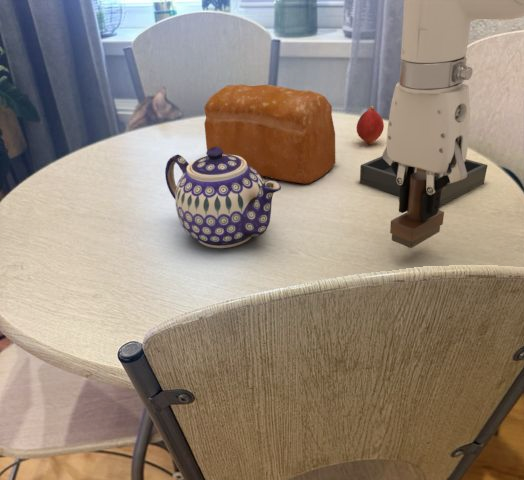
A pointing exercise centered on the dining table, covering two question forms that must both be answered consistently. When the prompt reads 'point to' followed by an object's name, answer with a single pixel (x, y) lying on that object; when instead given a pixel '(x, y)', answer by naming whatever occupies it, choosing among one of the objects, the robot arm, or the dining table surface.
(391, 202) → the dining table surface
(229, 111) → the bread
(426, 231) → the wooden rubber stamp
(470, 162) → the tray
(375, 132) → the onion
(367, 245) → the dining table surface
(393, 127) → the robot arm
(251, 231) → the teapot
